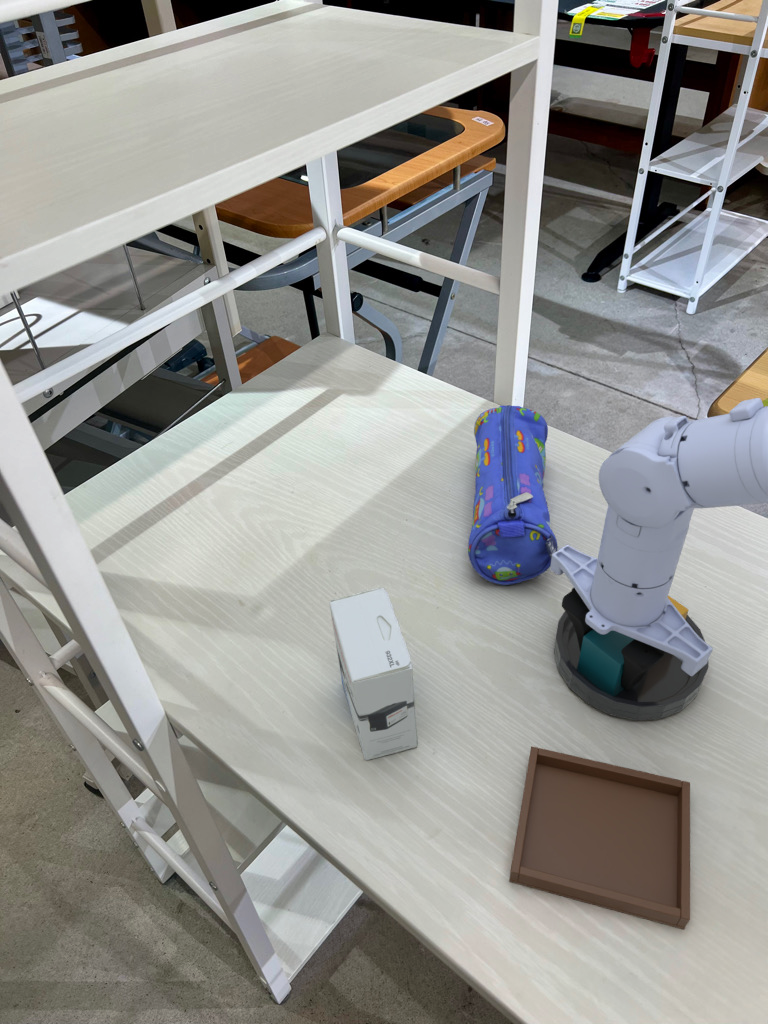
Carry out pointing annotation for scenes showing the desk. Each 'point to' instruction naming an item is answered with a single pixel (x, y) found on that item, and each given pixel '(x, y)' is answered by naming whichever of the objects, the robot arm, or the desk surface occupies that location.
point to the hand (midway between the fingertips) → (610, 665)
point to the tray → (605, 836)
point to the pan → (647, 699)
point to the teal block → (603, 660)
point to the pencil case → (510, 497)
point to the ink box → (375, 672)
